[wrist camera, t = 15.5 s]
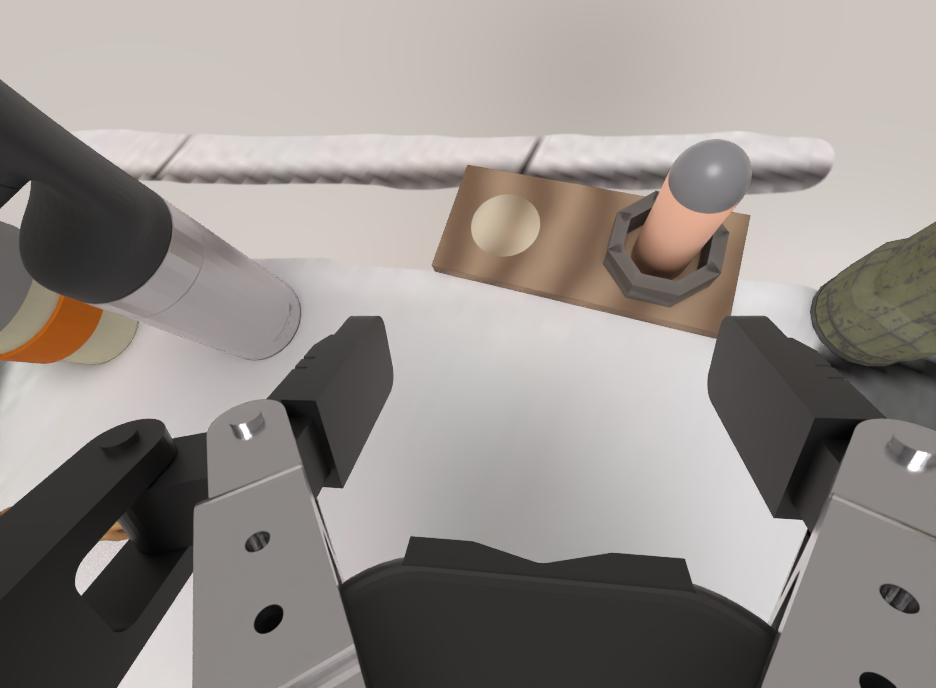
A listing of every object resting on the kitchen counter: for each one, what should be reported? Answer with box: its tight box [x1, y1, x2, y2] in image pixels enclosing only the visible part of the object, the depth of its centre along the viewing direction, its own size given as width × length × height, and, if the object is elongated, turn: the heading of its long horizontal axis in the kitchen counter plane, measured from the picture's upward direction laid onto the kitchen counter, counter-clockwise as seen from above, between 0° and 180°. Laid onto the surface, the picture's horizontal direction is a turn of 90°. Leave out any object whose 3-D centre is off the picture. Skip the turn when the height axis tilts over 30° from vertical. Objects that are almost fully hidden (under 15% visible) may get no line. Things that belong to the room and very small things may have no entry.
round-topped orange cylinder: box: [631, 139, 752, 280], centre depth 34 cm, size 5×5×14 cm
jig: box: [432, 165, 750, 339], centre depth 42 cm, size 28×12×4 cm, turn 73°
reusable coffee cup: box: [0, 221, 138, 364], centre depth 43 cm, size 13×12×15 cm
